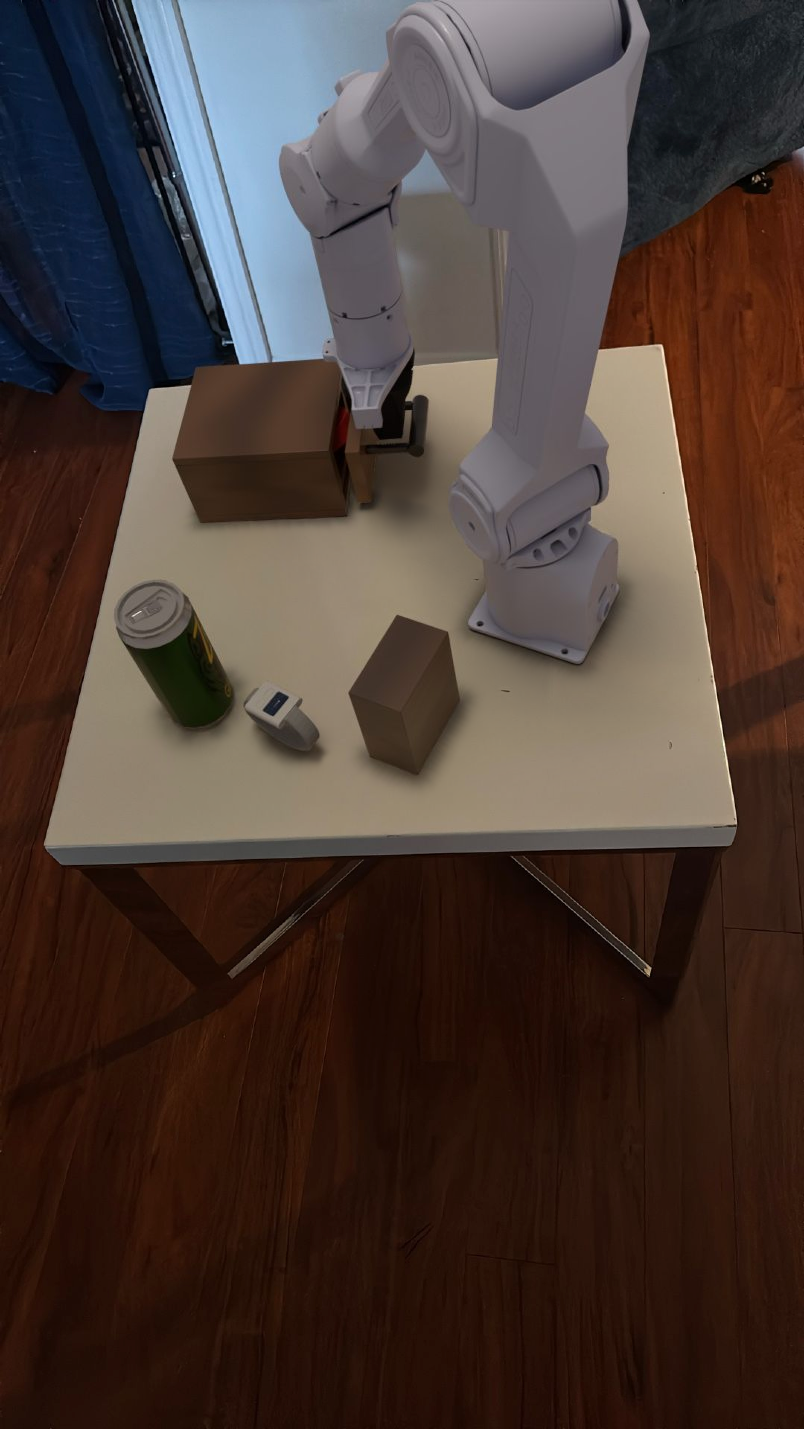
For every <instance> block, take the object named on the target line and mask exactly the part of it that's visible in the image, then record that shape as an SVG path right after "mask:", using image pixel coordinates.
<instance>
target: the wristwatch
mask: <svg viewBox="0 0 804 1429" xmlns="http://www.w3.org/2000/svg"><path fill="white" fill-rule="evenodd" d="M242 703H243V709H244V711H245V713H246V714H247V716H248V717H249V718H250V719H251V720H252V721H253V722H254V723H255V724H256V725H257V726H258V727H259V728H261V729H262V730H264V731H265V732H266V733H267V734H269V735H270V736H272V737H273V738H274V739H275V740H277V741H279V742H281V743H282V744H284V745H286V746H288V747H290V748H292V749H295V750H297V751H302V752H308V751H310V750H311V749H312V747H313V746H314V745H315V744H316V743H317V741H318V740H319V739H320V735H321V734H320V732H319V729H318V728H317V726H316V724H314V722H313V721H312V719H311V718H309V716H308V715H307V714H306V713H305V712H303V711H302V710H301V709H300V707H301V706H302V704H303V698H302V697H300V696H298V695H297V694H294V693H292V692H290V691H289V690H287V689H285V688H283V687H281V686H280V685H277V684H276V683H274V682H272V681H270V680H265V681H264V682H263V683H262V684H261V686H260V687H256V688H254V689H253V690H252V691H251V692H250V693H249V695H248V696H247V697H246V698H245V699H244V701H243V702H242ZM287 723H288V724H289V725H290V726H291V727H292V728H291V727H290V726H288V725H287Z"/></svg>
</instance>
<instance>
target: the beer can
mask: <svg viewBox="0 0 804 1429" xmlns="http://www.w3.org/2000/svg"><path fill="white" fill-rule="evenodd" d="M113 620H114V623H115V628H116V629H115V630H116V632H117V635H118V638H119V639H120V641H121V642H122V644H123V645H124V647H125V649H126V650H127V652H128V654H129V655H130V656H131V659H132V660H133V662H134V664H136V666H137V668H138V669H139V671H140V673H141V674H142V676H143V678H144V680H145V681H146V683H147V684H148V686H149V687H150V689H151V691H152V692H153V694H154V695H155V697H156V698H157V700H158V702H159V704H160V705H161V707H162V708H163V710H164V712H165V713H166V715H167V716H168V717H169V719H170V720H171V721H172V722H173V723H174V724H176V725H178V726H180V727H183V728H186V729H189V730H190V729H191V730H203V729H208V728H210V727H212V726H215V725H216V724H217V723H219V722H220V721H221V720H222V719H224V718H225V716H226V715H227V714H228V713H229V711H230V709H231V706H232V703H233V698H234V687H233V684H232V683H231V680H230V678H229V675H227V672H226V670H225V667H224V666H223V664H222V662H221V660H220V658H219V657H218V654H217V653H216V650H215V648H214V647H213V646H214V645H213V644H212V643H211V640H210V638H209V636H208V635H207V632H206V631H205V628H204V626H203V624H202V623H201V621H200V619H199V616H198V614H197V613H196V610H195V609H194V606H193V604H192V603H191V600H190V598H189V596H187V594H185V593H184V592H183V591H182V590H181V588H180V587H178V586H177V585H176V584H175V583H173V582H170V581H168V580H165V579H150V580H145V581H142V582H140V583H138V584H135V585H133V586H132V587H131V588H129V589H128V590H126V591H124V593H123V594H122V595H121V597H120V598H118V600H117V602H116V605H115V607H114V610H113Z"/></svg>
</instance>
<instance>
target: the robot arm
mask: <svg viewBox="0 0 804 1429" xmlns="http://www.w3.org/2000/svg"><path fill="white" fill-rule="evenodd" d="M650 35H651V34H650V31H649V28H648V26H647V24H646V19H645V18H644V15H643V12H642V8H641V7H640V3H639V2H638V0H429V1H417V2H415V3H412V4H411V5H409V6H406V8H404V9H403V10H402V11H401V12H400V14H399V15H398V17H397V19H396V21H395V22H394V23H392V24H391V25H390V26H388V27H387V28H386V30H385V42H386V50H387V58H386V59H385V61H384V63H383V64H382V67H381V69H380V70H379V71H370V72H365V73H364V72H363V70H362V69H359V68H358V69H356V70H354V71H352V72H350V73H348V74H346V75H344V76H342V77H340V78H339V79H338V80H337V82H336V83H335V84H334V91H335V93H336V95H337V99H335V101H334V102H333V104H332V105H331V106H330V107H328V108H326V109H324V110H321V111H320V113H319V115H318V116H317V123H318V125H317V127H316V128H315V130H314V131H313V133H312V134H311V135H309V136H307V137H305V138H303V139H301V140H299V141H296V142H287V143H285V144H283V145H282V146H281V148H280V154H279V156H278V166H279V167H278V170H279V175H280V179H281V182H282V186H283V189H284V191H285V195H286V197H287V199H288V202H289V204H290V206H291V208H292V210H293V212H294V214H295V215H296V217H297V219H298V220H299V222H300V224H301V225H302V226H303V227H304V229H305V230H306V231H307V232H308V233H309V237H310V241H311V245H312V249H313V254H314V259H315V262H316V267H317V271H318V274H319V279H320V284H321V288H322V292H323V297H324V301H325V305H326V309H327V313H328V319H329V322H330V325H331V331H332V335H333V337H331V338H327V339H326V340H324V342H323V345H322V350H321V351H322V352H321V353H322V359H324V361H326V362H336V363H337V364H338V365H339V368H340V371H341V373H342V379H341V387H342V391H343V393H344V395H345V397H346V398H348V399H349V400H351V401H352V414H353V418H354V422H355V427H356V429H371V428H372V429H373V431H374V432H375V434H376V436H377V437H378V441H387V440H389V441H391V440H402V439H403V438H404V431H405V422H406V411H405V401H407V397H408V395H409V394H410V391H411V388H412V385H413V377H414V369H413V368H414V366H415V358H416V357H415V356H416V350H415V346H414V338H413V334H412V332H411V329H410V328H409V323H408V317H407V311H406V305H405V300H404V299H405V298H404V293H403V287H402V279H401V274H400V268H399V262H398V256H397V251H396V249H397V248H396V243H395V242H396V241H395V236H394V230H395V229H396V227H398V226H399V224H398V223H400V218H399V210H398V202H399V200H400V198H401V196H402V190H403V179H405V177H407V176H408V175H409V174H410V173H411V172H412V171H413V170H414V169H415V168H416V167H417V166H418V165H419V163H420V162H421V160H422V159H423V157H424V154H425V153H426V152H427V153H428V155H429V156H430V158H431V160H432V161H433V163H434V165H435V166H436V168H437V169H438V171H439V172H440V175H441V176H442V177H443V179H444V180H445V182H446V184H447V186H448V187H449V189H450V191H451V193H452V194H453V195H454V197H455V199H456V200H457V201H458V202H459V203H460V204H461V206H462V207H463V209H464V210H465V212H466V214H467V215H468V217H469V219H470V220H471V222H472V224H473V225H474V226H476V227H481V228H486V229H492V230H498V231H505V232H508V241H507V252H506V264H505V275H504V285H503V296H502V307H501V316H500V317H501V318H500V331H499V340H498V349H497V350H498V351H497V352H498V353H497V361H496V362H497V363H496V374H495V383H494V384H495V386H494V396H493V407H492V419H491V427H490V428H489V430H488V431H487V432H486V433H485V435H484V436H483V437H482V438H481V439H480V440H479V441H478V443H477V444H476V445H475V446H474V447H473V448H472V449H471V450H470V451H469V453H467V455H466V456H465V458H464V459H463V460H462V461H461V462H460V464H459V465H458V475H457V476H458V477H457V479H456V480H455V481H453V482H452V483H451V484H450V486H449V489H448V490H449V491H448V493H449V494H448V510H449V513H450V516H451V519H452V522H453V524H454V525H455V526H454V527H455V528H456V530H457V532H458V534H459V536H460V537H461V539H462V541H463V542H464V543H465V545H466V546H467V547H468V549H469V550H470V551H471V552H472V553H473V554H474V555H475V556H476V557H478V558H479V559H480V560H482V565H483V573H484V582H485V591H484V593H483V594H482V596H481V598H480V599H479V601H478V603H477V605H476V606H475V608H474V610H473V612H472V614H471V615H470V617H469V618H468V620H467V621H468V622H467V626H468V629H471V630H472V631H476V632H478V633H482V634H485V635H487V636H491V637H494V638H497V639H500V640H503V641H505V642H509V643H511V644H515V645H517V646H521V647H524V648H527V649H529V650H533V651H536V652H538V653H539V652H540V653H542V654H545V655H549V656H551V657H554V658H558V659H560V660H563V661H566V662H569V663H573V664H577V665H579V664H581V663H584V661H585V658H586V657H587V655H588V653H589V651H590V649H591V647H592V646H593V643H594V641H595V639H596V638H597V635H598V634H599V631H600V629H601V627H602V625H603V624H604V622H605V620H606V619H607V617H608V614H609V612H610V609H612V608H611V607H612V605H613V604H614V602H615V600H616V598H617V596H618V594H619V592H620V584H619V583H618V582H617V581H618V563H619V562H618V561H619V541H618V539H617V538H616V537H614V536H612V535H610V534H607V533H605V532H603V531H601V530H599V529H598V528H596V527H594V526H593V525H592V524H590V522H591V521H592V507H595V506H598V505H601V504H602V503H603V502H604V501H605V500H606V499H607V498H608V494H609V491H610V471H609V467H608V463H607V456H608V451H609V448H610V445H609V442H608V441H607V439H606V437H605V436H604V435H603V432H602V431H601V430H600V429H599V427H598V425H597V424H596V423H595V421H593V420H592V418H591V417H590V416H588V414H587V413H586V410H587V404H588V400H589V395H590V392H591V386H592V382H593V379H594V373H595V368H596V363H597V360H598V354H599V349H600V346H601V341H602V337H603V331H604V327H605V323H606V317H607V313H608V310H609V309H608V308H609V304H610V299H611V295H612V290H613V285H614V280H615V276H616V271H617V266H618V262H619V258H620V254H621V249H622V244H623V240H624V235H625V230H626V225H627V218H628V210H629V209H628V208H629V207H628V206H629V186H628V185H629V183H628V176H629V174H628V145H629V141H630V136H631V131H632V126H633V122H634V117H635V111H636V107H637V102H638V97H639V92H640V87H641V82H642V77H643V73H644V67H645V63H646V57H647V52H648V48H649V43H650V37H651V36H650ZM479 625H480V626H479Z"/></svg>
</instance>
